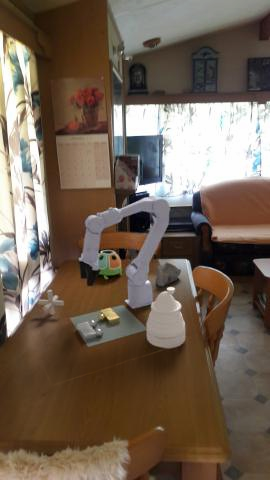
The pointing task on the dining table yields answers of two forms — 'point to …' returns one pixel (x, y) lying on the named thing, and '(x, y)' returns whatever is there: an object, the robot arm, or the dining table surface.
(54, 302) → the pipe connector
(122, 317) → the mat
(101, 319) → the tan knobbed block
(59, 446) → the dining table surface
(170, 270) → the mineral rock
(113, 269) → the turtle holder
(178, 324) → the honey pot
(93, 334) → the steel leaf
